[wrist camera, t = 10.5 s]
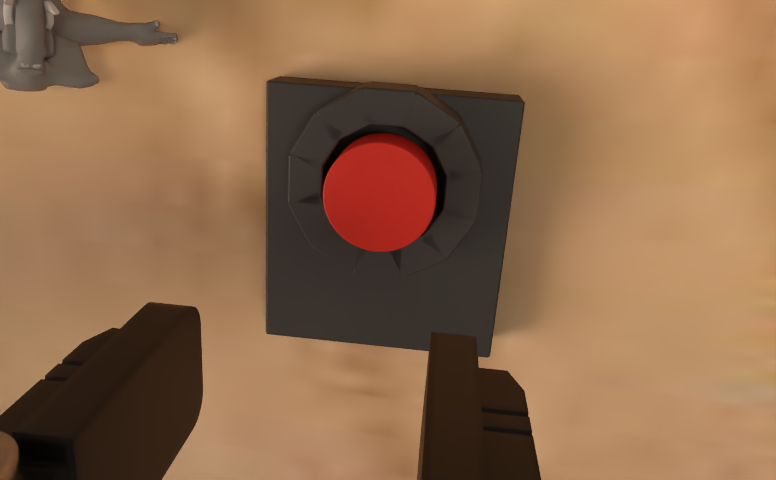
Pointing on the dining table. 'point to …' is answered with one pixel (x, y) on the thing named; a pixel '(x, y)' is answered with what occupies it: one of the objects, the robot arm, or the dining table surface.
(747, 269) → the dining table surface
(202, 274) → the dining table surface
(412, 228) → the button
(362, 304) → the box
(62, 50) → the elephant figurine
